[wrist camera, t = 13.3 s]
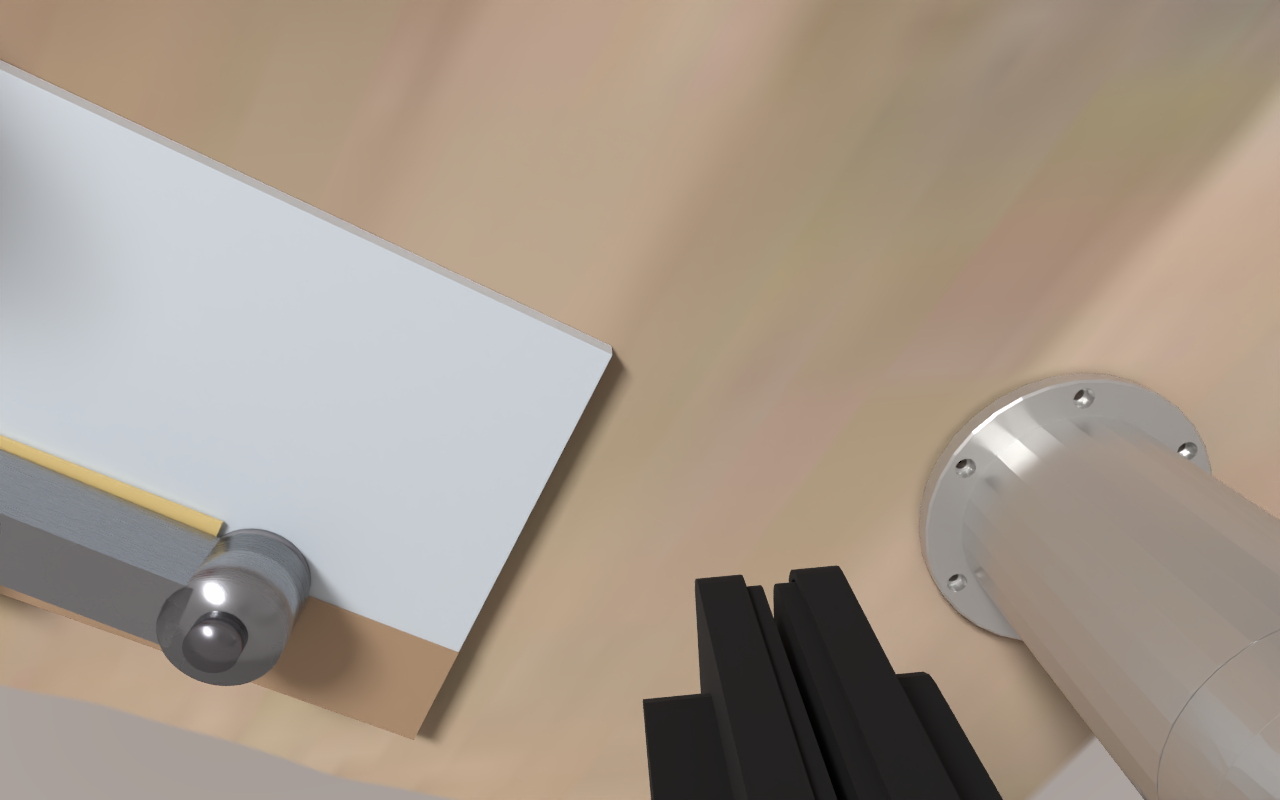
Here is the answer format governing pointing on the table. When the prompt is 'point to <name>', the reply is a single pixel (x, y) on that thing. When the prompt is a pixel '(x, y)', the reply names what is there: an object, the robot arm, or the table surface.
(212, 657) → the latch bar
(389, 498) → the door board
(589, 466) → the table surface
